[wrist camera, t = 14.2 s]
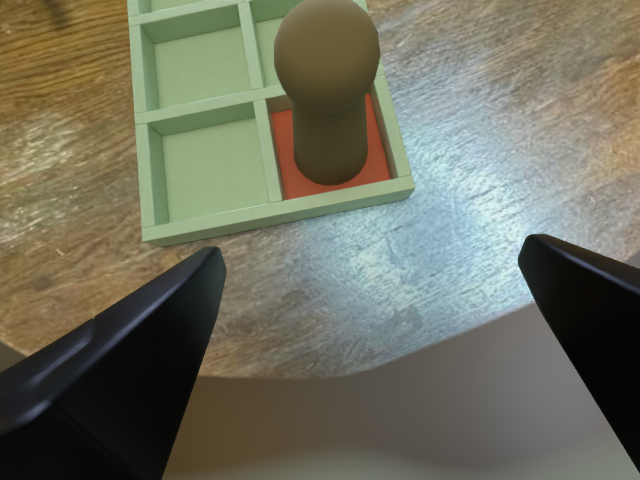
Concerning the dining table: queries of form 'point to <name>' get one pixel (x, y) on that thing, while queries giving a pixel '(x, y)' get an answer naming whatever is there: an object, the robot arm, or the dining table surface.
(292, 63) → the cork
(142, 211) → the grid
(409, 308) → the dining table surface
